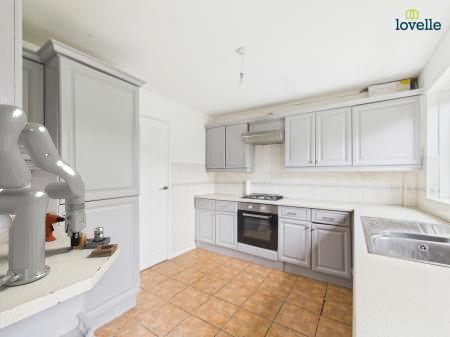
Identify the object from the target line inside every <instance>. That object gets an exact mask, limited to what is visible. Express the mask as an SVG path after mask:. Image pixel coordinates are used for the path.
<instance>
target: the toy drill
mask: <svg viewBox="0 0 450 337" xmlns="http://www.w3.org/2000/svg"><path fill="white" fill-rule="evenodd" d="M64 222H65V216H60V215H57V214H51V213H49V212H48V213H47V212H46V219H45V243H47V242H48V243H50V242H54V241H57V238H56V237H55V236H54V235H53V232H54V231H55V228H54V225H53V224H57V223H64Z"/></svg>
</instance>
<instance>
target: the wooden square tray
mask: <svg viewBox="0 0 450 337" xmlns="http://www.w3.org/2000/svg"><path fill="white" fill-rule="evenodd" d="M117 251H118V243H112V244H110V243H109V244H108V245H99V246H98V247H97V248H93V250H92V251H91V258H99V257H101V258H102V257H112V256H113V255H114V253H115V252H117Z"/></svg>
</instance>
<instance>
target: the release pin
mask: <svg viewBox="0 0 450 337" xmlns="http://www.w3.org/2000/svg"><path fill="white" fill-rule="evenodd" d="M86 239H87V233H84V232H83V231H82V232H81V233H80V245H79V246H75V247H73V248H72V250H80V249H81V250H82V247H83V246H85V245H86V243H87V241H86Z"/></svg>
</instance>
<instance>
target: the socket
mask: <svg viewBox="0 0 450 337" xmlns="http://www.w3.org/2000/svg"><path fill="white" fill-rule="evenodd" d="M92 238H93V239H92V240H90V241H86V248H85V249H86V250H88V249H95V248H97V247H98V246H99V245H109V244H110V243H111V236H106V237H104V236H103V241H102V242H94V237H92Z"/></svg>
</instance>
